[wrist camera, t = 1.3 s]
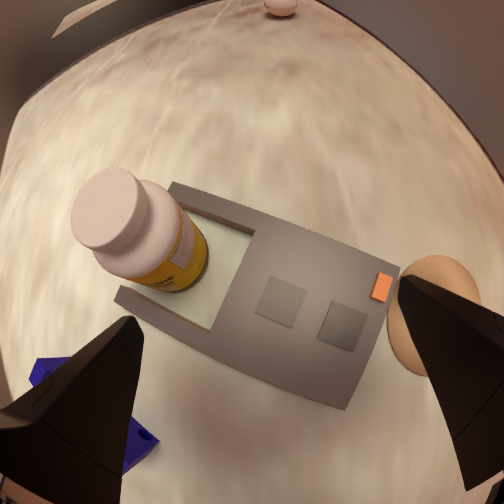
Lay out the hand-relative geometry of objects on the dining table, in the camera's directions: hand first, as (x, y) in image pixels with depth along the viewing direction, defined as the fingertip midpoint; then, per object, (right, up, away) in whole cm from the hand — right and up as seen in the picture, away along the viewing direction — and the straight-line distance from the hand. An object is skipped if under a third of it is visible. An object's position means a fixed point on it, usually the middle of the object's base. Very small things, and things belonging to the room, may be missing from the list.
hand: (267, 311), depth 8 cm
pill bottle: (-7, +1, +16) cm, 17 cm away
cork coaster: (+16, -4, +11) cm, 20 cm away
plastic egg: (+5, +42, +25) cm, 49 cm away
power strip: (0, -1, +14) cm, 14 cm away
